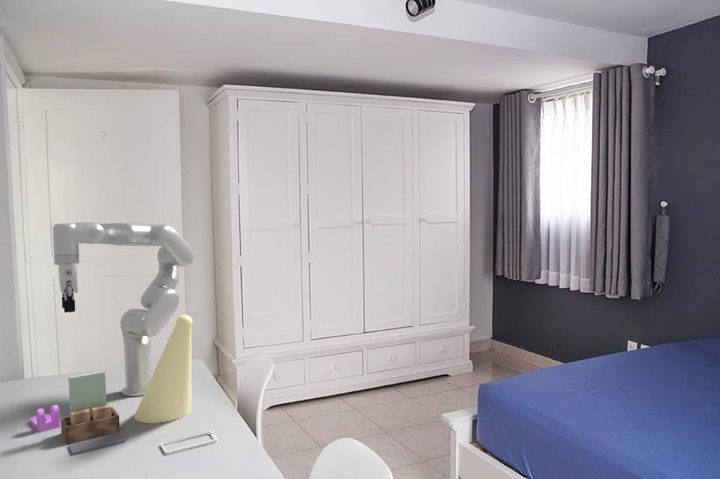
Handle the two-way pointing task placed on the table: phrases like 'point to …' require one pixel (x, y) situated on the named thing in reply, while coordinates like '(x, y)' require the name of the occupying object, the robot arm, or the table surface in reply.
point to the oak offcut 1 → (80, 416)
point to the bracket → (46, 419)
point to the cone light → (170, 379)
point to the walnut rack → (89, 428)
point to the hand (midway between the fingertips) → (68, 309)
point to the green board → (87, 391)
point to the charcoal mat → (96, 443)
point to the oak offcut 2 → (101, 412)
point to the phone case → (187, 446)
